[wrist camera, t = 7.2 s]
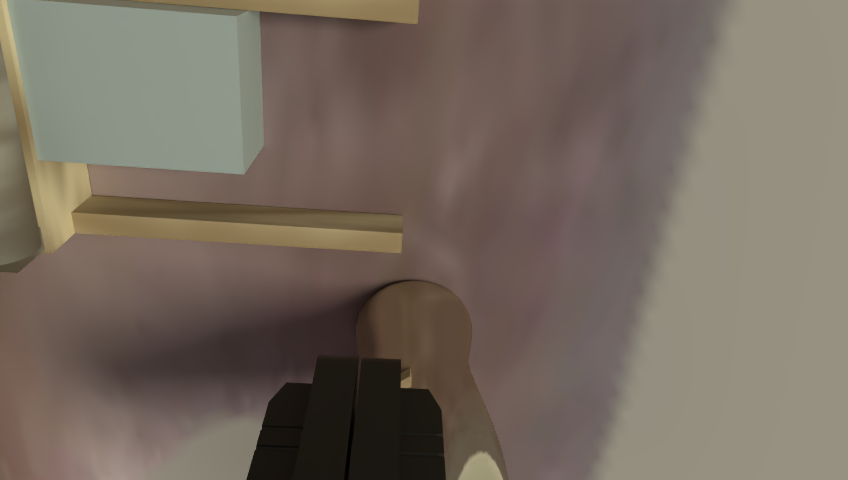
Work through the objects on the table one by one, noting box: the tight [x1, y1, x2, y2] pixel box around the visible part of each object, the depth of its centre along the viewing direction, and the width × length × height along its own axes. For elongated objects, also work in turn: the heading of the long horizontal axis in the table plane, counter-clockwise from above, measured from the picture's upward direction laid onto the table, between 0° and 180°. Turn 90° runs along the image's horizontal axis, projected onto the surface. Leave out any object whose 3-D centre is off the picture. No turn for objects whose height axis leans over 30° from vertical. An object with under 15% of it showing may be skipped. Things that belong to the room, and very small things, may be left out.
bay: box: [0, 0, 419, 273], centre depth 25 cm, size 11×17×7 cm, turn 86°
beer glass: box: [355, 281, 509, 480], centre depth 26 cm, size 7×7×15 cm
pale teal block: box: [6, 0, 264, 174], centre depth 26 cm, size 6×8×4 cm
